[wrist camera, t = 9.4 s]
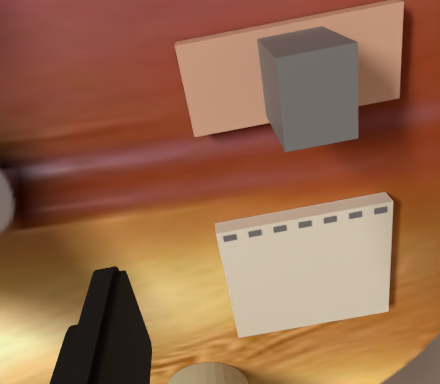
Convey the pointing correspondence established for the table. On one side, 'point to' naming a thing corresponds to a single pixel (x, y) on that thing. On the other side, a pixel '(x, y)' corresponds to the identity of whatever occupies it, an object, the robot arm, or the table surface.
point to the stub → (295, 74)
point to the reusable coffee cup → (208, 374)
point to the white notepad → (308, 264)
